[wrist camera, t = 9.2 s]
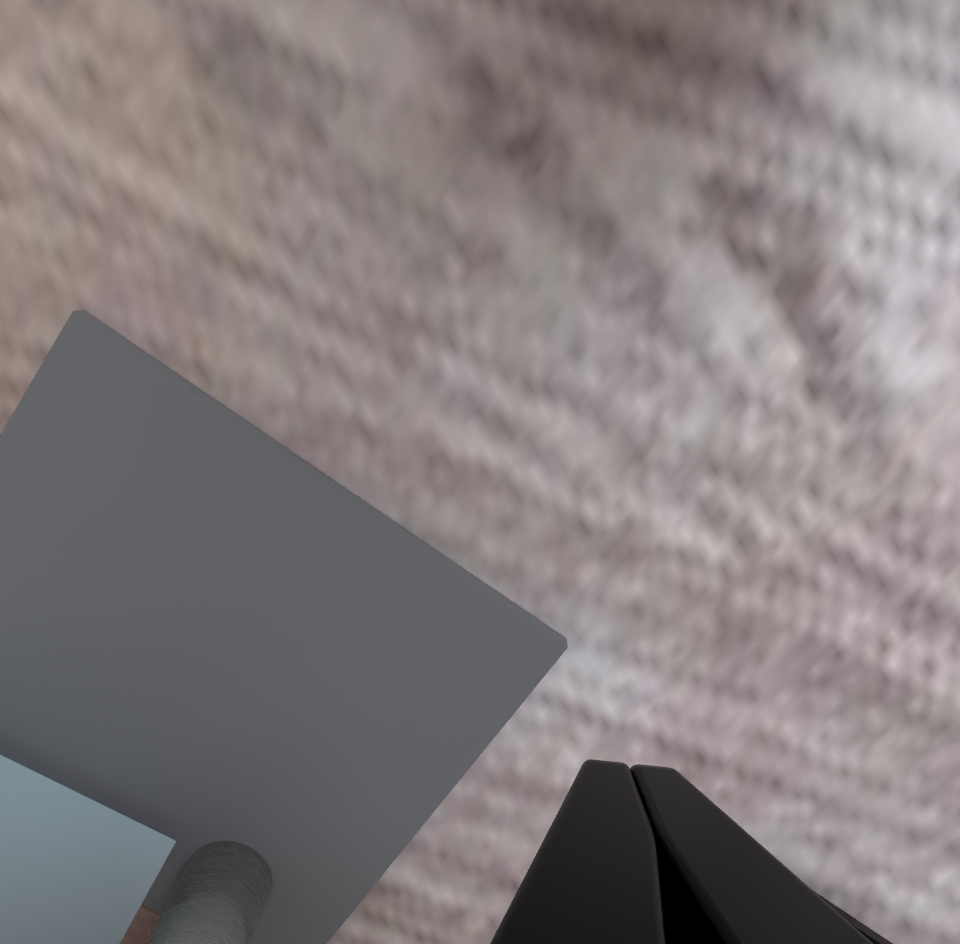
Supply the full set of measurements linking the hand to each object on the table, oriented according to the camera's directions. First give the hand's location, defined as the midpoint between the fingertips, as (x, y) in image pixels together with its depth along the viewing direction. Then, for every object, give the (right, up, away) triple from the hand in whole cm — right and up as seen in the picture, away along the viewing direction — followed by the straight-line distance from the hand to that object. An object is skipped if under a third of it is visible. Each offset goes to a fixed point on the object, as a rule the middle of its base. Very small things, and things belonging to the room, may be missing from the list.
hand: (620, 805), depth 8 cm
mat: (-8, -2, +13) cm, 15 cm away
